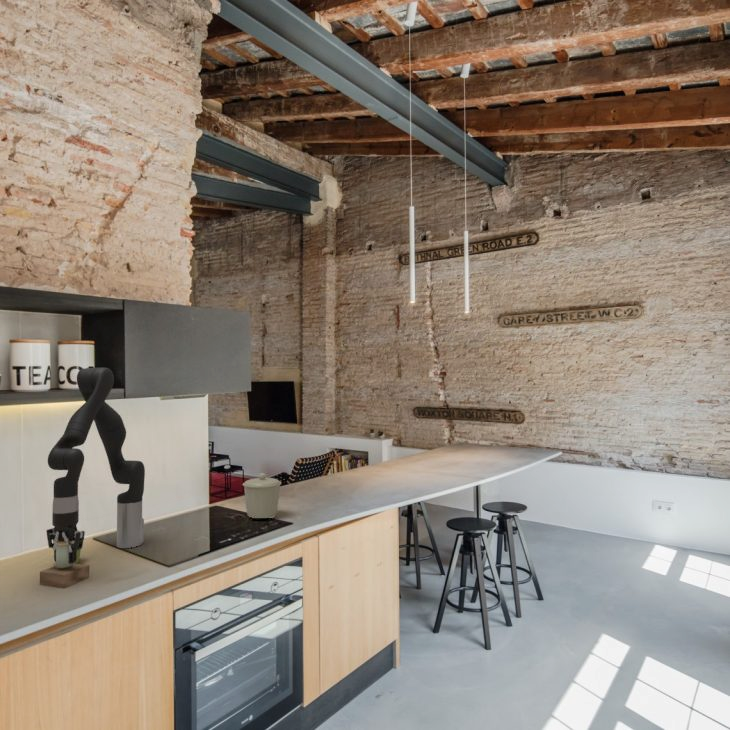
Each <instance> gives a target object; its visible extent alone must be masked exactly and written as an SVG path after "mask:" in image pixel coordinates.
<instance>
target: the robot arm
mask: <svg viewBox="0 0 730 730" xmlns="http://www.w3.org/2000/svg"><path fill="white" fill-rule="evenodd" d="M114 382H115V376H114V373H113V371H112V370H111V369H110V368H109V367H89V368H88V367H86V368H85V367H84V368H81V369H80V370H78V372H77V375H76V384H77V387H78V390H79V392H80V394H81V396H82V399H83V400H84V401H85V402H84V403H83V404H82V405H81V406H80V407H79V408H78V409H77V410H76V411H75V412H74V413H73V414H72V416H71V417H70V418H69V420H68V422H67V425H66V427H65V430H64V433H63V434H62V436H61V437H60V438H59V440H57V442H56V443H55V445H53V447H52V449H51V450H50V452H49V453H48V456H47V464H48V465H47V466H48V467H49V468H50V470H55V471H67V472H66V475H65V476H62V477H58V478H56V479H55V480H54V481H53V500H52V510H51V511H52V512H51V513H52V515H51V516H52V518H51V519H52V526H53V527H52V528H49V529H47V530H46V538H47V546H48V548H49V549H52V550H53V560H54V562H55V563H56V542H58V540H59V541H64V542H65V543H66V546H68V549H69V564H72V563H75V562H76V560H77V558H76V557H77V550H79V549H81V550H82V549H83V545H84V541H85V534H86V533H85V531H84V530H81V531H80V530H78V527H77V525H78V523H79V520H80V519H79V516H80V514H79V511H80V509H79V507H80V506H79V505H80V503H79V502H80V501H79V480H80V477H81V473H82V469H83V467H84V463H85V455H84V452H83V451H82V450H81V449H80V448H76V447H79V446H83V445H84V444H85V443H86V440H87V438H88V435H89V432H90V429H91V427H92V424H93V422H94V424H95V427H96V429H97V433H98V435H99V438H100V440H101V442H102V445H103V447H104V451H105V454H106V457H107V460H108V464H109V469H110V472H111V476H112V479H113V480H114V481H115V483H117V484H118V485H128V490H126V491H124V492H121V493H120V494H117V497H116V547H117V548H119V549H130V548H131V547H132V548H136V546H137V547H140V546H141V545H142V544H143V543H145V539H144V538H145V519H144V517H143V495H144V491H145V476H146V471H145V470H146V469H145V465H144V463H143V462H142V461H140V460H126V459H125V458H124V455H123V452H122V448H123V446H124V442H125V440H126V437H127V429H126V426H125V423H124V420H123V418H122V416H121V415H120V414H119V413H118V411H116V410H115V409H114V408H113V407H112V406H111V405H109V404H108V403H107V402H106V399H108V398H107V397H108V396H109V394H110V393H111V391H112V389H113V386H114ZM71 540H74V541H72V542H69V541H71ZM72 544H73V548H72ZM78 544H79V545H78Z"/></svg>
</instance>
